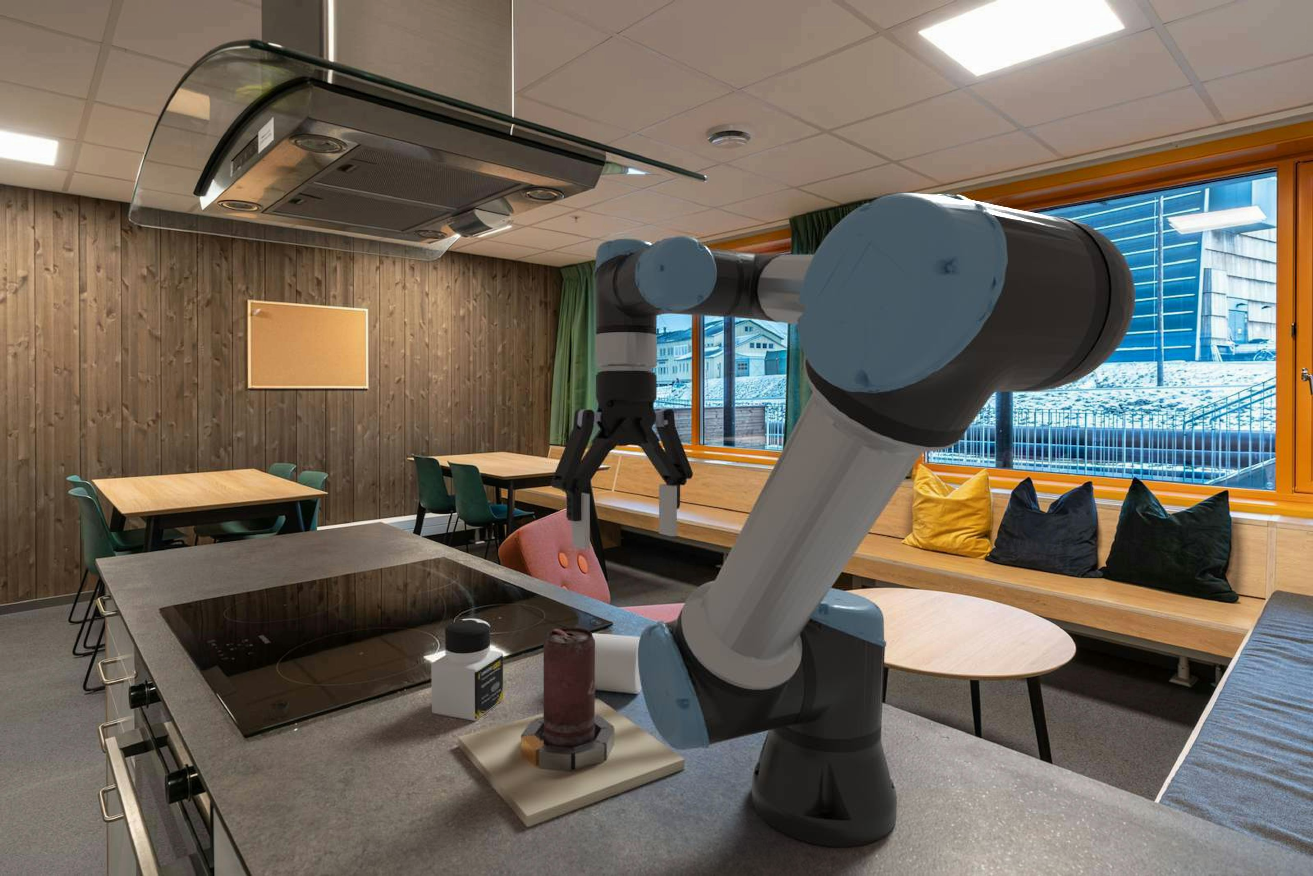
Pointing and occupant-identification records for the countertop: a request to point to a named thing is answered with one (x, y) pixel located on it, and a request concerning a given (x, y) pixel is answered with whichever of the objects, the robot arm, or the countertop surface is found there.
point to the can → (569, 688)
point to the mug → (617, 663)
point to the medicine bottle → (467, 672)
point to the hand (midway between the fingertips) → (626, 541)
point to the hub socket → (565, 756)
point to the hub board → (562, 791)
